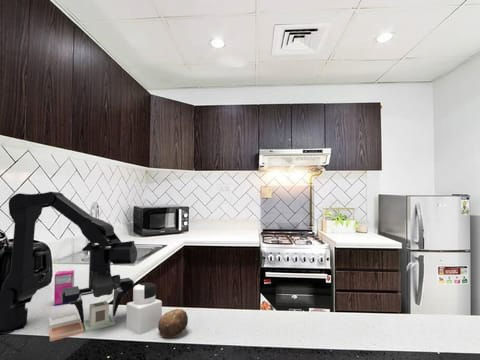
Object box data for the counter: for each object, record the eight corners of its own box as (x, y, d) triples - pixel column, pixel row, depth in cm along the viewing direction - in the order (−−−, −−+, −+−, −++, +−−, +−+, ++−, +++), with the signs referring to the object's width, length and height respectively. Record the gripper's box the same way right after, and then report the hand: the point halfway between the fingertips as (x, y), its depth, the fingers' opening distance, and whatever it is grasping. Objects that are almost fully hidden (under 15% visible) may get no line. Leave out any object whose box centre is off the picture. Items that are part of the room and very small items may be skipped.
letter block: (91, 328, 75) (91, 308, 76) (89, 323, 79) (89, 303, 79) (108, 324, 78) (109, 304, 78) (105, 319, 81) (106, 300, 82)
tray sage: (85, 333, 73) (85, 329, 73) (82, 324, 79) (82, 320, 79) (115, 325, 77) (115, 321, 77) (110, 318, 83) (110, 314, 83)
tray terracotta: (49, 343, 68) (49, 338, 68) (49, 332, 74) (49, 328, 74) (83, 334, 73) (83, 329, 73) (80, 325, 79) (80, 320, 79)
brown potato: (182, 311, 78) (176, 298, 75) (197, 329, 72) (191, 316, 69) (158, 331, 74) (150, 318, 71) (171, 352, 68) (164, 339, 65)
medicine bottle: (148, 320, 80) (148, 279, 82) (162, 326, 76) (162, 283, 77) (125, 329, 75) (126, 285, 76) (139, 336, 70) (139, 289, 72)
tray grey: (49, 330, 76) (49, 325, 76) (49, 321, 82) (49, 317, 82) (80, 322, 81) (80, 318, 81) (77, 315, 87) (77, 311, 87)
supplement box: (56, 301, 102) (57, 271, 103) (74, 299, 104) (75, 269, 106) (53, 306, 96) (54, 273, 98) (72, 303, 99) (73, 271, 100)
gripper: (64, 275, 68) (62, 339, 66) (139, 264, 79) (138, 319, 77) (62, 268, 77) (60, 324, 75) (129, 259, 88) (129, 308, 86)
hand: (98, 319), depth 78 cm, fingers open, 8 cm apart
